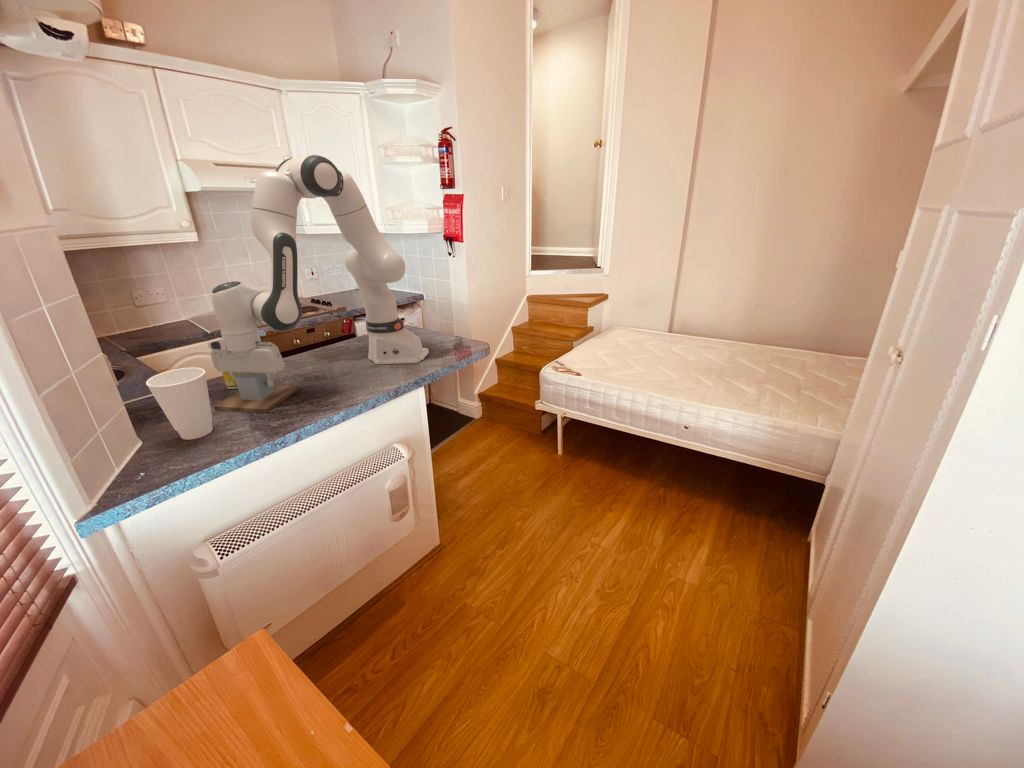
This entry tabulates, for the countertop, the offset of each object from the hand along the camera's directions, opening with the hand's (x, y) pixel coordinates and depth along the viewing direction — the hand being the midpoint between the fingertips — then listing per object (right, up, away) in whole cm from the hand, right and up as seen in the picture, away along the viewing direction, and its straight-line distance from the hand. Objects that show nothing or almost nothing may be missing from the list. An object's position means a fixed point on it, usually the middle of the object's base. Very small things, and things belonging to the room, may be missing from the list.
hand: (255, 385), depth 126 cm
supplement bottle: (-13, 0, +11) cm, 17 cm away
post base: (0, -4, +2) cm, 5 cm away
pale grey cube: (0, -3, +1) cm, 3 cm away
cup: (-6, -12, -16) cm, 21 cm away
